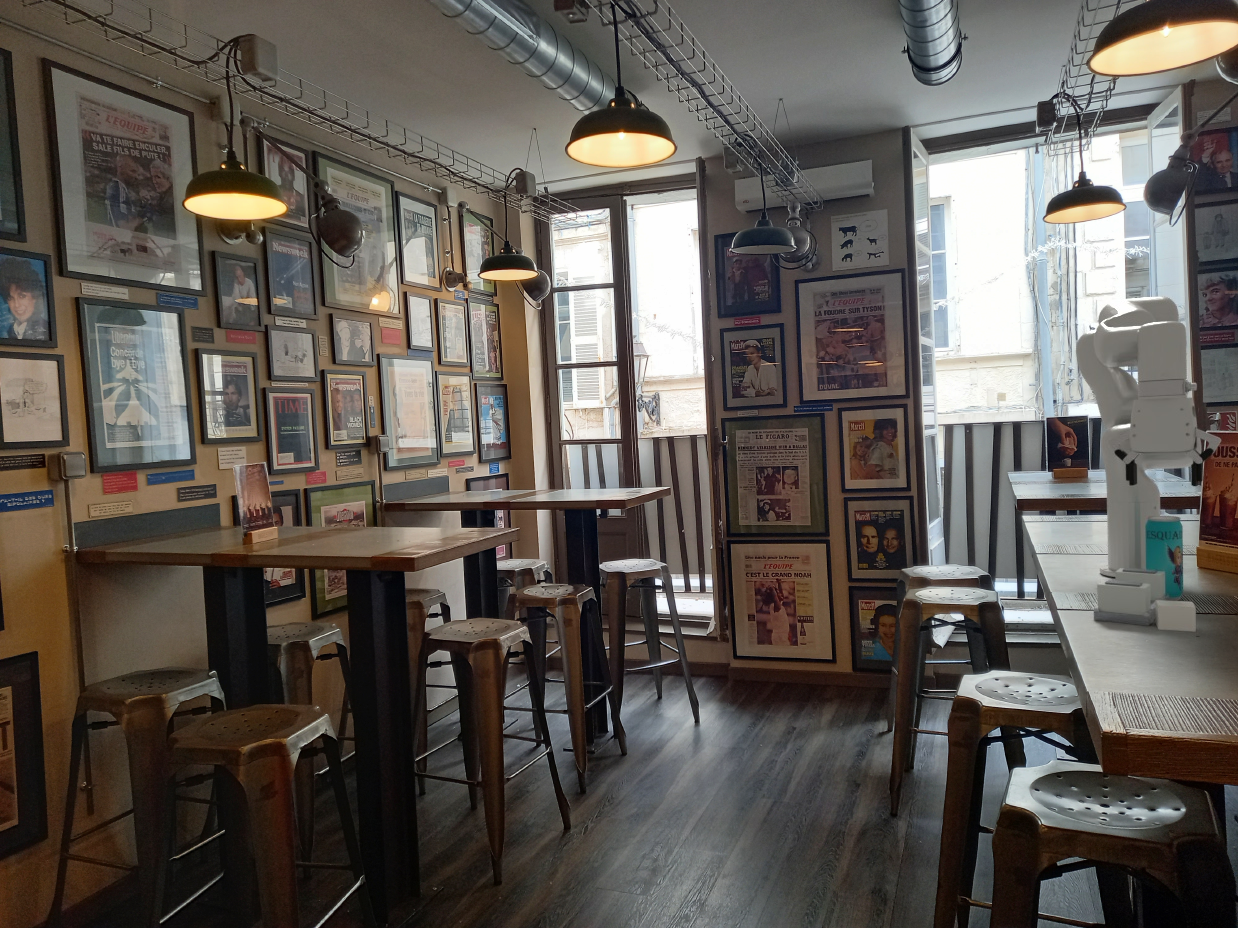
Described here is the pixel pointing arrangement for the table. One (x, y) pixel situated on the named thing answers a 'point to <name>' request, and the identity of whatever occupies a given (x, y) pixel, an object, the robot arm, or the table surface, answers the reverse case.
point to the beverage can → (1166, 551)
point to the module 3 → (1175, 615)
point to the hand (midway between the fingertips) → (1163, 485)
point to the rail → (1129, 615)
